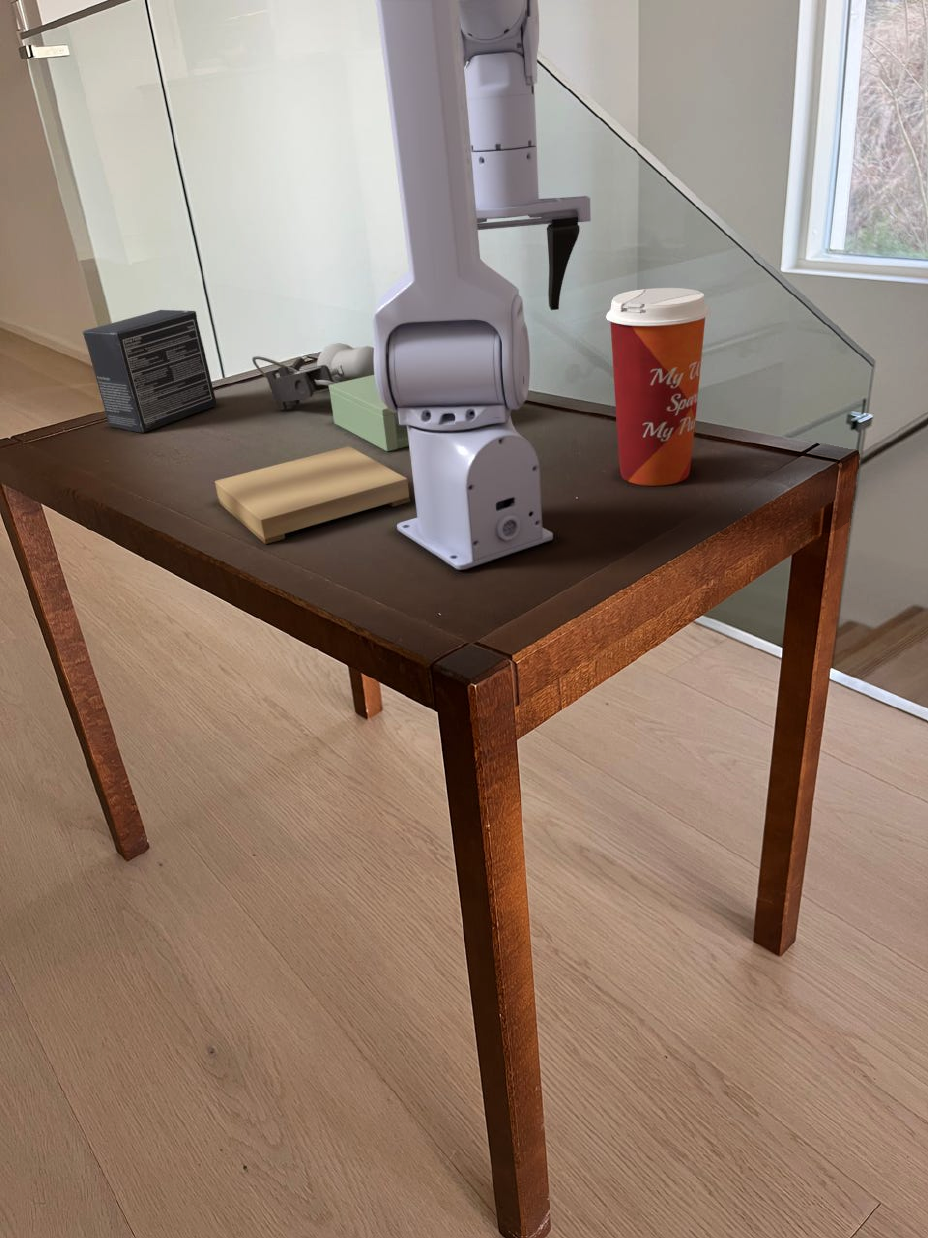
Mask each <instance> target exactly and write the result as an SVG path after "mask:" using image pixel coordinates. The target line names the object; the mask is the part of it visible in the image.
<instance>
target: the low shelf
mask: <svg viewBox="0 0 928 1238" xmlns="http://www.w3.org/2000/svg"><path fill="white" fill-rule="evenodd" d="M214 485H215V489H216V494H217V499H218V503H219V504H220V505H221V506H222V507H223V508H224V509H225V510H227V512H228V513H230V514H231V515H232V516H233V517H235V518H236V520H238V521H239V522H240V523H241V524H242V525H243V526H245V528H247V530H249V531H250V532H251V533H252V534H253V535H254V536H255V537H257V538H258V539H259V540H260V541H261V542H263V543H264V544H265V545H268V544H272V543H274V542H278V541H281V540H282V541H283V540H285V539H286V535H285V534H288V533H291V532H294V531H298V530H301V529H305V528H308V527H309V528H310V527H311V526H315V525H318V524H322V523H325V522H329V521H331V520H332V521H333V520H336V519H339V518H343V517H346V516H349V515H353V514H356V513H357V514H358V513H360V512H363V511H367V510H370V509H373V508H377V507H381V506H384V505H389V506H390V507H397V506H400V505H404V504H407V503H410V502H411V498H410V490H409V481H408V478H407V477H405V476H403V475H401V474H400V473H398V472H397V471H394V470H392V469H391V468H390V467H387V466H386V465H384V464H382V463H380V462H378V461H377V460H375V459H373V458H372V457H370V456H367V455H366V454H364V453H362V452H361V451H358V450H357V449H356V448H353V447H351V446H349V445H348V446H345V447H340V448H336V449H332V450H329V451H325V452H321V453H318V454H314V455H310V456H306V457H301V458H298V459H293V460H291V461H287V462H282V463H279V464H278V463H277V464H274V465H271V466H268V467H263V468H260V469H255V470H252V471H248V472H244V473H241V474H236V475H233V476H229V477H225V478H221V479H217V480H214Z"/></svg>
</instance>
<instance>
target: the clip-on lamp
mask: <svg viewBox="0 0 928 1238" xmlns="http://www.w3.org/2000/svg"><path fill="white" fill-rule="evenodd" d="M307 359H308V356H307V355H305V356H302V357H299V358H297V359H296V360H295V361H294V362H293V363H292V365H291V366H289V365H286V364H284V363H281V362H279V361H278V360H277V361H276V360H274V359H271V358H268V357H265V356H261V355H254V356H252V358H251V360H252V364H253V365H254V367H255V368H256V369H257V370H258V371H259V373H260V374H261V375H262V376H263V377H264V378H265V379H266V380H267V383H268V385H269V388H270V391H271V394H272V396H273V400H274V402H275V404H276V405H275V406H276V408H277V409H278V411H280V412H281V411H285V410H287V409H288V405H287V402H288V403H289V405H290V406H297V405H299V404H301V403H300V402H301V401H300V400H303V399H304V400H305V399H309V398H312V397H313V396H314V394H318V393H322V392H325V391H330V390H329V385H331V384H336V383H340V382H345V381H349V380H353V379H358V378H362V377H367V376H371V375H375V374H374V346H369V345H366V346H360V347H352V346H350V345H349V344H346V343H341V342H338V343H332V344H330V345H327V346H325V347H324V348H323V349H322V351H321V352H320V353H319V356H318V357H317V359H316V366H313V367H309V368H306V369H304V368H301V367H303V365H304V364H305V363H306V360H307ZM256 360H260V361H264V362H266V363H269V364H272V365H275V366H277V367H278V368H277V372H278V375H279V377H278V376H277V375H276V372H275V371H274V370H269V371H267V372H264V371H263V369H261V368H260V365H258V363H257V361H256Z"/></svg>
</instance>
